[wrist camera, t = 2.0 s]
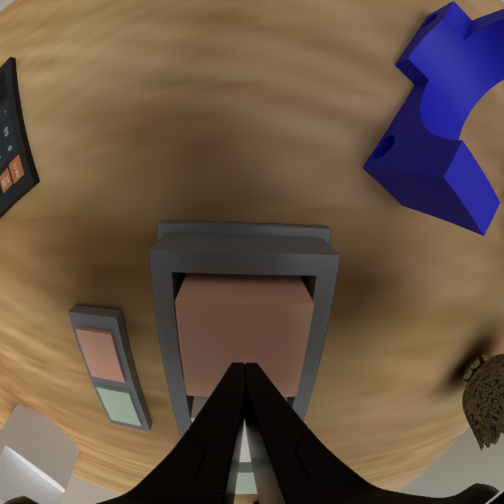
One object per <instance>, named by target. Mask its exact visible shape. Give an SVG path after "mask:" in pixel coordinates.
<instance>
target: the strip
mask: <svg viewBox="0 0 504 504" xmlns="http://www.w3.org/2000/svg"><path fill="white" fill-rule="evenodd" d="M68 312H69V316H70V319H71V323H72V326H73V329H74V333H75V336H76V339H77V342H78V345H79V348H80V351H81V354H82V357H83V359H84V362H85V365H86V367H87V370H88V373H89V375H90V378H91V380H92V382H93V385H94V387H95V389H96V392H97V394H98V396H99V398H100V401H101V403H102V405H103V407H104V409H105V411H106V413H107V415H108V417H109V419H110V421H111V423H114V424H119V425H123V426H128V427H133V428H138V429H144V430H150V429H151V425H152V421H151V418H150V415H149V412H148V409H147V406H146V403H145V400H144V397H143V394H142V391H141V387H140V384H139V381H138V377H137V374H136V370H135V366H134V363H133V359H132V355H131V351H130V347H129V343H128V338H127V334H126V329H125V325H124V320H123V315H122V310H114V309H105V308H96V307H88V306H80V305H74V306H73V307H72V308H71V309H70V310H69V311H68Z"/></svg>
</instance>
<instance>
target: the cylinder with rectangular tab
mask: <svg viewBox="0 0 504 504" xmlns="http://www.w3.org/2000/svg"><path fill="white" fill-rule="evenodd" d="M79 453H80V450H79V447H78V446H77V445H76V443H75V442H74V441H73V440H72V439H71V438H70V437H69V436H68V435H67V434H66V433H65V432H64V431H63V430H62V429H61V428H59V427H58V426H57V425H55V424H54V423H53V422H52V421H50V420H49V419H47V418H46V417H44V416H43V415H42V414H40V413H38V412H37V411H35V410H33V409H31V408H29V407H27V406H24V405H17V406H16V407H15V409H14V410H13V412H12V413H11V415H10V416H9V418H8V419H7V421H6V423H5V424H4V426H3V427H2V429H1V431H0V498H1V499H2V500H3V501H5V502H6V501H8V500H10V499H13V498H16V497H20V496H26V497H28V498H30V499H32V500H33V501H35V502H37V503H39V504H59V502H60V499H61V496H62V493H63V492H65V490H66V488H67V485H68V482H69V479H70V477H71V474H72V471H73V469H74V466H75V463H76V461H77V458H78V456H79Z"/></svg>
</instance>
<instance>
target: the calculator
mask: <svg viewBox="0 0 504 504" xmlns="http://www.w3.org/2000/svg"><path fill="white" fill-rule="evenodd" d="M39 182H40V180H39V177H38V174H37V171H36V168H35V164H34V161H33V157H32V154H31V150H30V146H29V142H28V138H27V134H26V129H25V125H24V120H23V115H22V109H21V103H20V97H19V90H18V82H17V72H16V60H15V58H13V57H10V58H9V59H8V60H7V61H6V62H5V63H4V64H3V65H2V66H1V67H0V218H1V217H2V216H3V215H4V214H5V213H6V212H7V211H8V210H9V209H10V208H11V207H12V206H13V205H14V204H15V203H16V202H17V201H18V200H20V199H21V198H22V197H23V196H24V195H25V194H26V193H27V192H28V191H29V190H31V189H32V188H33V187H34V186H35V185H36V184H38V183H39Z"/></svg>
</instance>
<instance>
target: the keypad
mask: <svg viewBox="0 0 504 504" xmlns="http://www.w3.org/2000/svg"><path fill="white" fill-rule="evenodd" d="M330 234H331V229H330V228H329V227H327V226H312V225H291V224H266V223H235V222H188V221H160V222H159V223H157V242H156V243H155V244H154V245H153V246H152V247H151V248H150V249H149V260H150V271H151V282H152V291H153V299H154V307H155V315H156V322H157V329H158V335H159V342H160V347H161V353H162V359H163V364H164V369H165V374H166V379H167V384H168V389H169V393H170V398H171V402H172V406H173V410H174V414H175V418H176V422H177V426H178V430H179V433H180V437H181V438H182V436H183V435H184V434H185V432H186V431H187V430H189V429H188V428H189V426H190V425H191V424H192V421H191V413H192V407H193V400H194V396H189V395H187V394H186V387H185V381H184V375H183V368H182V360H181V353H180V345H179V337H178V328H177V318H176V308H175V300H176V297H177V295H178V293H179V290H180V288H181V286H182V284H183V281H184V279H185V277H186V275H187V273H212V274H249V275H300V277H301V279H302V281H303V283H304V285H305V287H306V289H307V291H308V293H309V295H310V296H311V298H312V300H313V302H314V308H313V314H312V320H311V326H310V332H309V337H308V343H307V348H306V353H305V358H304V363H303V368H302V373H301V378H300V382H299V387H298V391H297V396H294V397H287V401H288V403H289V404H290V406H291V407H292V408H293V409H294V411H295V412H296V413H297V414H298V416H299V417H300V418H301V419H302V420H303V421H304V418H305V414H306V411H307V407H308V404H309V400H310V397H311V393H312V390H313V386H314V382H315V378H316V374H317V370H318V366H319V362H320V358H321V354H322V350H323V345H324V341H325V336H326V331H327V327H328V322H329V317H330V312H331V307H332V301H333V296H334V290H335V284H336V278H337V272H338V266H339V259H340V255H339V254H338V253H337V252H336V251H335V250H334V249H333V248H332V247H331V246H330V245H329V243H330Z"/></svg>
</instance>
